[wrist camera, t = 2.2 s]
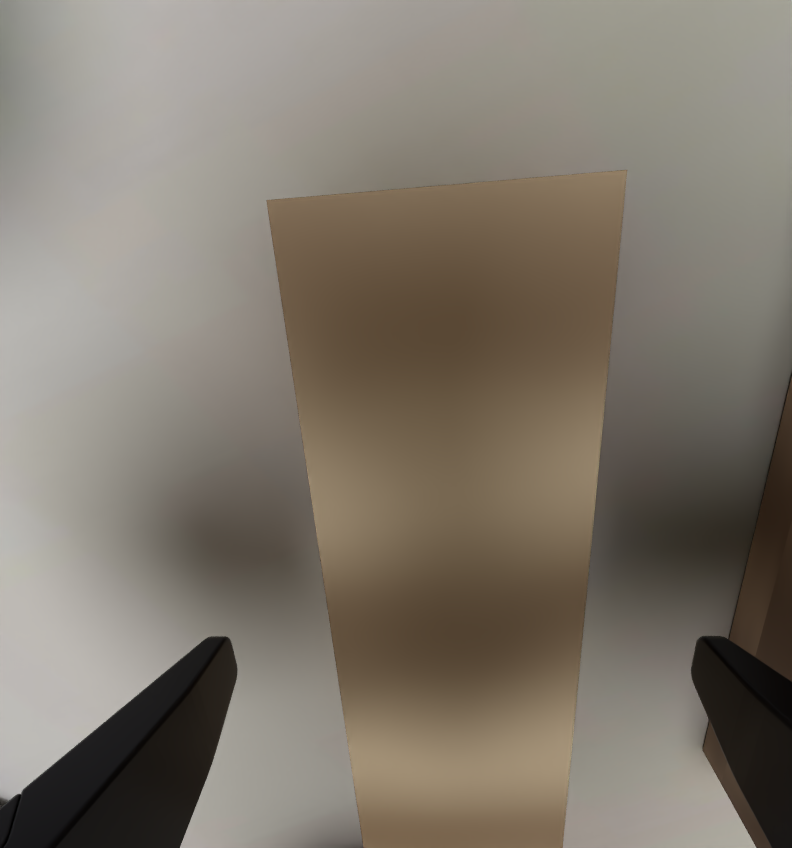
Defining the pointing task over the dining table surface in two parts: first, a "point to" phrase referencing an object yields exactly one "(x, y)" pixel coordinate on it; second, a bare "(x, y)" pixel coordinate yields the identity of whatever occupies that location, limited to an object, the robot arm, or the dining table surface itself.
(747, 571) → the peg frame
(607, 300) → the light wood rectangular block
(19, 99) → the dining table surface
